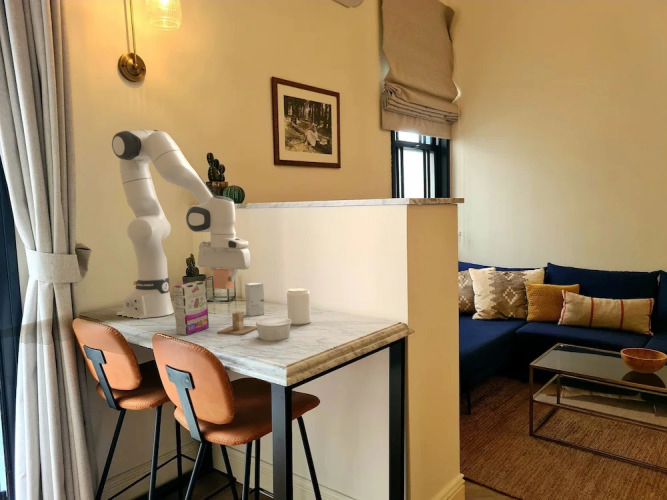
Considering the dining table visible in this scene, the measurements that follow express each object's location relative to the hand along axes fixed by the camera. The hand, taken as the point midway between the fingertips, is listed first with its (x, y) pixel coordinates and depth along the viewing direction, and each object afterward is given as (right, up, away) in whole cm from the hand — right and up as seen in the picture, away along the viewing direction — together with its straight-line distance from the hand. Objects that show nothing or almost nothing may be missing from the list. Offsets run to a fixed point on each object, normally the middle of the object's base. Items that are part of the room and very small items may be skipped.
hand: (224, 280), depth 182 cm
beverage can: (+27, -15, -1) cm, 31 cm away
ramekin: (+20, -17, -20) cm, 33 cm away
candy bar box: (-9, -17, -9) cm, 21 cm away
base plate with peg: (+7, -16, -10) cm, 20 cm away
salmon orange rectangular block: (0, -2, 0) cm, 2 cm away
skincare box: (+9, -14, +15) cm, 22 cm away
